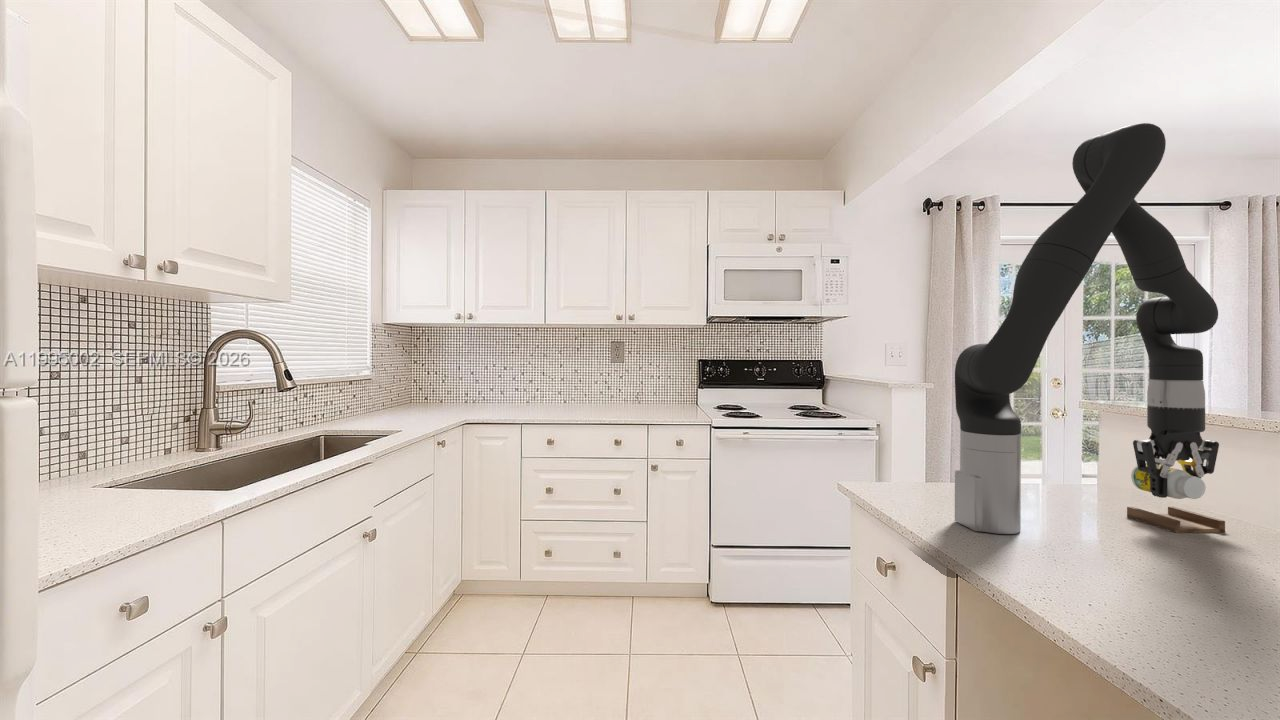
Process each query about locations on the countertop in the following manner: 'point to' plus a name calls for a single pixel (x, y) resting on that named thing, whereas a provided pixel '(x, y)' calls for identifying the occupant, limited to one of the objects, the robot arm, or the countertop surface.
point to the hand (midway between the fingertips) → (1175, 496)
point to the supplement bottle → (1172, 483)
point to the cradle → (1178, 520)
